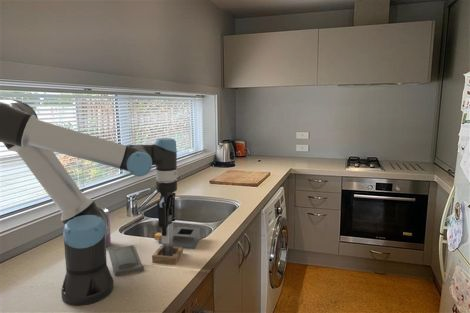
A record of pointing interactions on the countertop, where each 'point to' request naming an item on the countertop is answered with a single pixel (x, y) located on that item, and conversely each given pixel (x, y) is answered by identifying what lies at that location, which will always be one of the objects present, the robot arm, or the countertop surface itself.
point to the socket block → (185, 237)
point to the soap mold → (125, 260)
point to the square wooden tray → (161, 258)
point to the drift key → (157, 236)
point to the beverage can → (108, 228)
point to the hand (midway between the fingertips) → (167, 240)
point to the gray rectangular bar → (168, 248)
